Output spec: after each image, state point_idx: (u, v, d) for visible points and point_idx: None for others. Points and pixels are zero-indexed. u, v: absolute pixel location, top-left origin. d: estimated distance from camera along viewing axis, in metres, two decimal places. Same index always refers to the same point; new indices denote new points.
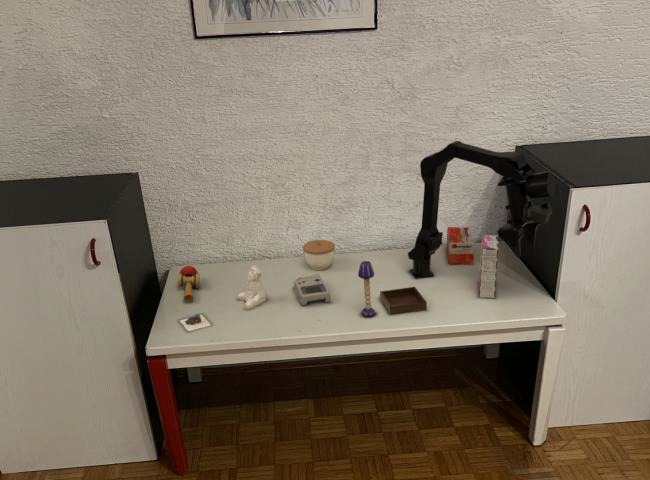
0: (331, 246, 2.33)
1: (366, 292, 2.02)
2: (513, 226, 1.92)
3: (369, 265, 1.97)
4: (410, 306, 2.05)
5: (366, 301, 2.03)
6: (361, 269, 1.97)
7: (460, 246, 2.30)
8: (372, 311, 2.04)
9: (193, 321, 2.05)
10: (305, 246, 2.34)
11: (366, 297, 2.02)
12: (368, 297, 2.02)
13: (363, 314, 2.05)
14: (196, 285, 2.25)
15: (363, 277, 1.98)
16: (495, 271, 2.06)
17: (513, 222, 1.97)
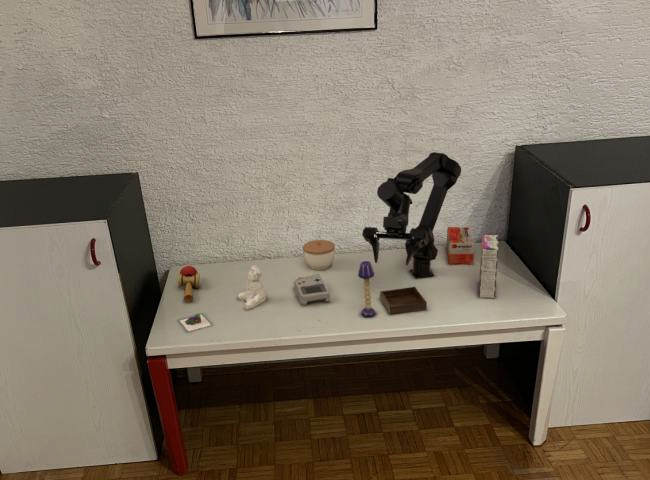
0: (331, 246, 2.33)
1: (366, 292, 2.02)
2: None
3: (369, 265, 1.97)
4: (410, 306, 2.05)
5: (366, 301, 2.03)
6: (361, 269, 1.97)
7: (460, 246, 2.30)
8: (372, 311, 2.04)
9: (193, 321, 2.05)
10: (305, 246, 2.34)
11: (366, 297, 2.02)
12: (368, 297, 2.02)
13: (363, 314, 2.05)
14: (196, 285, 2.25)
15: (363, 277, 1.98)
16: (495, 271, 2.06)
17: None
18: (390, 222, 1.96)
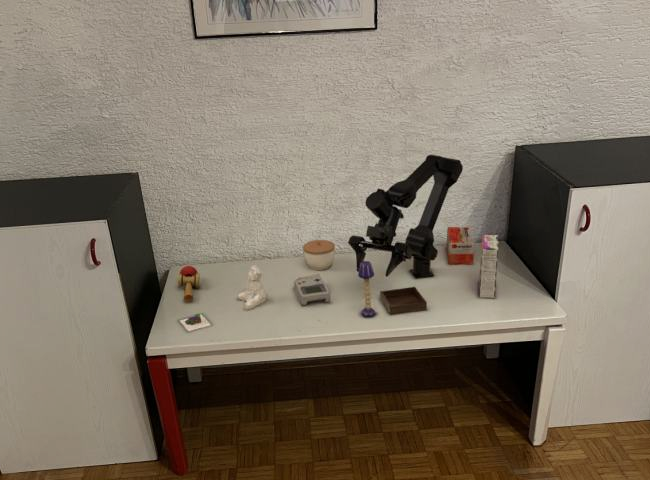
0: (331, 246, 2.33)
1: (366, 292, 2.02)
2: None
3: (369, 265, 1.97)
4: (410, 306, 2.05)
5: (366, 301, 2.03)
6: (361, 269, 1.97)
7: (460, 246, 2.30)
8: (372, 311, 2.04)
9: (193, 321, 2.05)
10: (305, 246, 2.34)
11: (366, 297, 2.02)
12: (368, 297, 2.02)
13: (363, 314, 2.05)
14: (196, 285, 2.25)
15: (363, 277, 1.98)
16: (495, 271, 2.06)
17: None
18: (373, 231, 1.98)
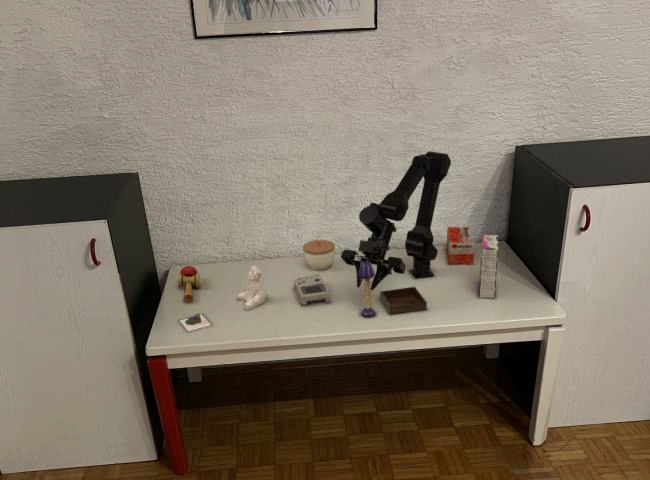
0: (331, 246, 2.33)
1: (366, 292, 2.02)
2: None
3: (369, 265, 1.97)
4: (410, 306, 2.05)
5: (366, 301, 2.03)
6: (361, 269, 1.97)
7: (460, 246, 2.30)
8: (372, 311, 2.04)
9: (193, 321, 2.05)
10: (305, 246, 2.34)
11: (366, 297, 2.02)
12: (368, 297, 2.02)
13: (363, 314, 2.05)
14: (196, 285, 2.25)
15: (363, 277, 1.98)
16: (495, 271, 2.06)
17: None
18: (365, 246, 1.95)
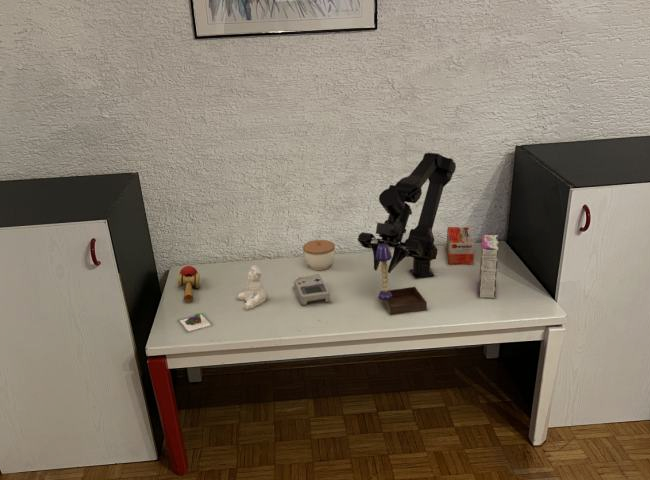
0: (331, 246, 2.33)
1: (383, 275, 2.02)
2: None
3: (387, 248, 1.97)
4: (410, 306, 2.05)
5: (383, 284, 2.03)
6: (379, 252, 1.98)
7: (460, 246, 2.30)
8: (389, 294, 2.05)
9: (193, 321, 2.05)
10: (305, 246, 2.34)
11: (383, 280, 2.03)
12: (385, 280, 2.03)
13: (380, 297, 2.05)
14: (196, 285, 2.25)
15: (380, 260, 1.98)
16: (495, 271, 2.06)
17: None
18: (382, 229, 1.95)
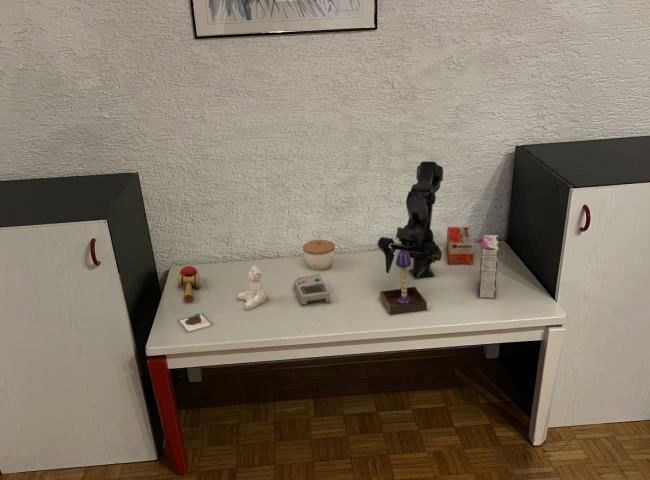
0: (331, 246, 2.33)
1: (403, 281, 2.06)
2: None
3: (407, 254, 2.01)
4: (410, 306, 2.05)
5: (402, 290, 2.08)
6: (399, 258, 2.02)
7: (460, 246, 2.30)
8: (408, 299, 2.09)
9: (193, 321, 2.05)
10: (305, 246, 2.34)
11: (403, 286, 2.07)
12: (405, 286, 2.07)
13: (399, 302, 2.09)
14: (196, 285, 2.25)
15: (401, 266, 2.02)
16: (495, 271, 2.06)
17: None
18: (403, 233, 1.99)
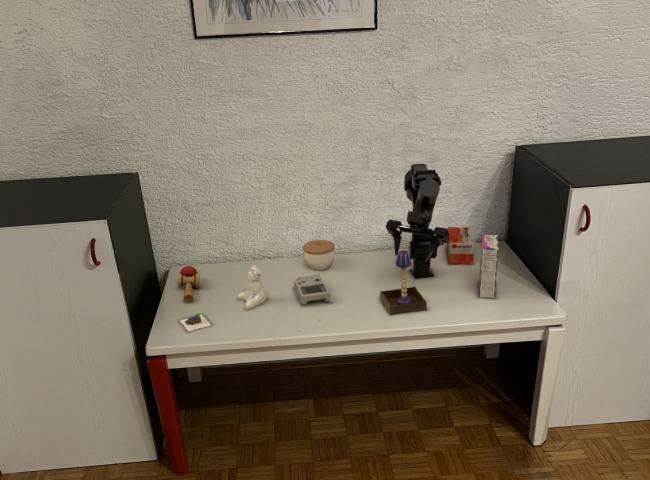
0: (331, 246, 2.33)
1: (403, 281, 2.06)
2: None
3: (407, 254, 2.01)
4: (410, 306, 2.05)
5: (402, 290, 2.08)
6: (399, 258, 2.02)
7: (460, 246, 2.30)
8: (408, 299, 2.09)
9: (193, 321, 2.05)
10: (305, 246, 2.34)
11: (403, 286, 2.07)
12: (405, 286, 2.07)
13: (399, 302, 2.09)
14: (196, 285, 2.25)
15: (401, 266, 2.02)
16: (495, 271, 2.06)
17: None
18: (414, 217, 2.01)
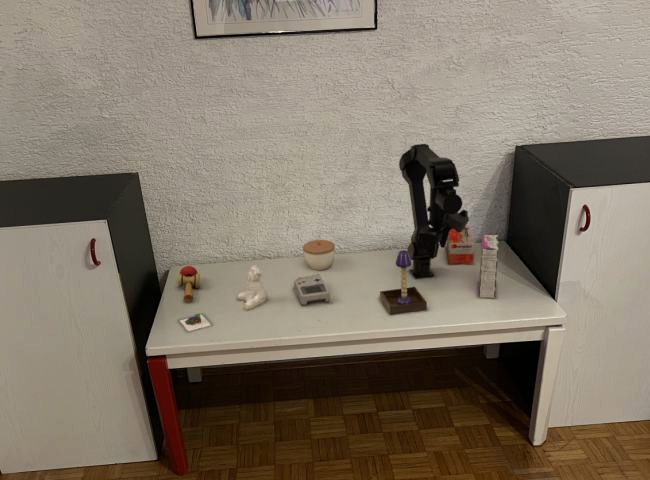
0: (331, 246, 2.33)
1: (403, 281, 2.06)
2: (434, 231, 1.99)
3: (407, 254, 2.01)
4: (410, 306, 2.05)
5: (403, 290, 2.08)
6: (399, 258, 2.02)
7: (460, 246, 2.30)
8: (408, 300, 2.09)
9: (193, 321, 2.05)
10: (305, 246, 2.34)
11: (403, 286, 2.07)
12: (405, 286, 2.07)
13: (399, 302, 2.09)
14: (196, 285, 2.25)
15: (401, 266, 2.02)
16: (495, 271, 2.06)
17: (432, 225, 2.04)
18: (464, 226, 2.02)
